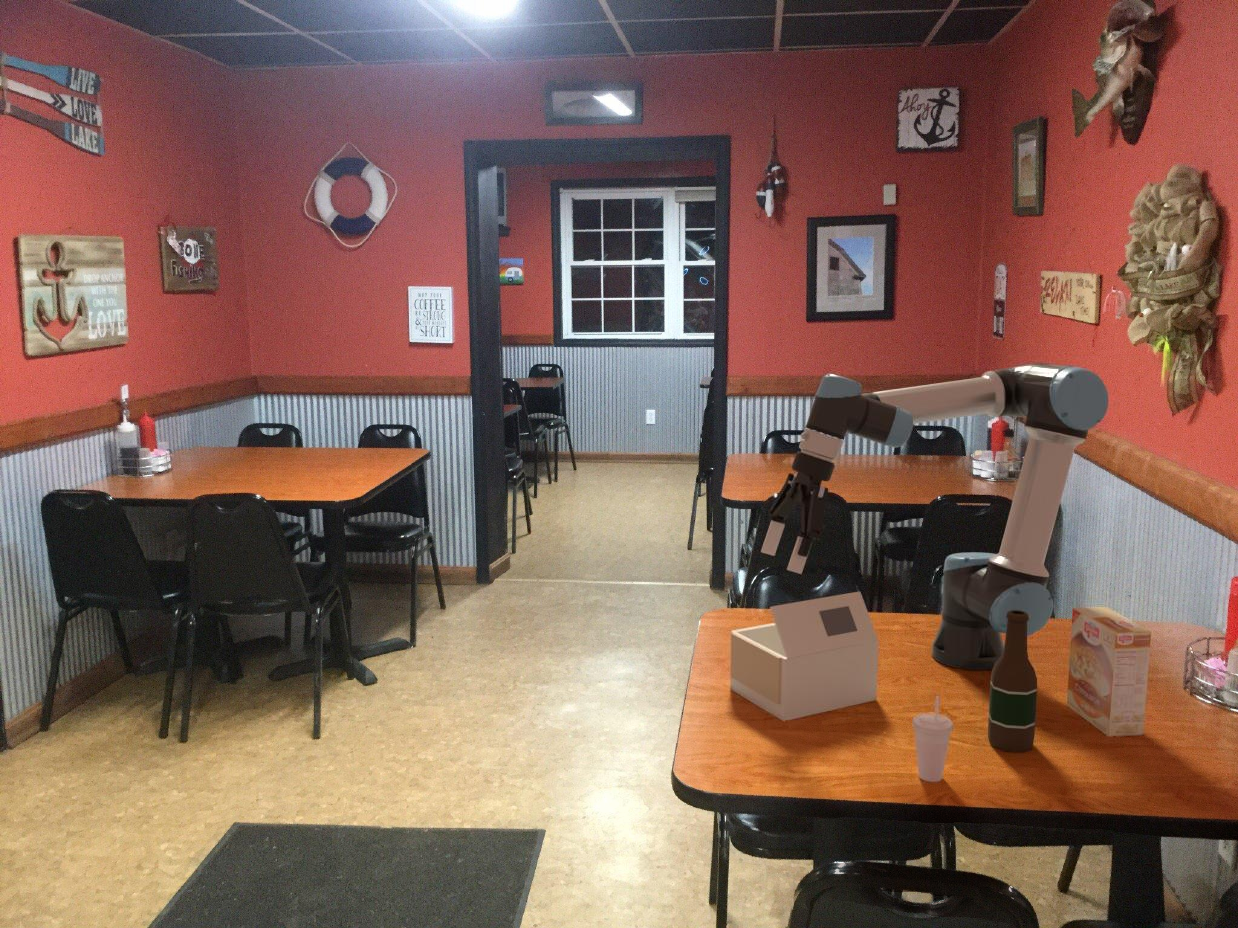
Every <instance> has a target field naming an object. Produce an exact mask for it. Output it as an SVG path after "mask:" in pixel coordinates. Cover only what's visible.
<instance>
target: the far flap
mask: <svg viewBox="0 0 1238 928" xmlns="http://www.w3.org/2000/svg"><path fill="white" fill-rule="evenodd" d="M769 610H770V613H771V615H772V616H771V617H772V619H773V621H774V622H773V623H775V625H776V628H777V631H778V634H779V637H780V640H781V643H782V646H783V649H784V652H785V655H786V657H787V659H789V658H794V657H799V656H804V655H809V654H814V653H819V652H824V651H829V650H834V649H839V648H844V647H849V646H854V645H859V644H865V643H870V642H875V641H879V638H878V635H877V634H876V630H875V627H874V625H873V622H872V620H871V616H870V614H869V611H868V609H867V607H866V604H865V601H864V598H863V594H862V593H861V591H855V592H849V593H844V594H837V595H836V594H835V595H831V596H826V597H819V598H812V599H808V600H802V601H795V602H789V603H784V604H777V605H773V606H770V607H769Z"/></svg>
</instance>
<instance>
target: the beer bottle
mask: <svg viewBox="0 0 1238 928" xmlns="http://www.w3.org/2000/svg"><path fill="white" fill-rule="evenodd" d="M1006 617H1007V619H1008V622H1007V630H1006V634H1005V640H1004V650H1003V654H1002V656H1001V657H1000V658H999V659H998V660H997V662H996V663H995V665H994V667H993V669H991V674H990V675H991V676H990V686H989V687H990V688H989V700H988V701H989V703H988V704H989V705H988V718H987V719H988V722H987V724H988V726H987V738H988V741H989V743H990V746H991V747H993V748H996V749H997V750H1001V751H1003V752H1007V753H1008V752H1009V753H1022V754H1023V753H1025V752H1027V751H1030V750H1032V749H1033V747H1034V743H1035V734H1036V733H1035V732H1036V731H1035V730H1036V716H1037V715H1036V714H1037V700H1038V676H1037V674H1036V670H1035V669H1034V666H1033V665H1032V663H1031V661H1030V660H1029V655H1028V654H1029V652H1028V636H1027V621H1028V620H1029V617H1028V614H1027V613H1026V612H1024V611H1020V610H1012V611H1009V612H1007V615H1006Z"/></svg>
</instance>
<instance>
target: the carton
mask: <svg viewBox="0 0 1238 928" xmlns="http://www.w3.org/2000/svg"><path fill="white" fill-rule="evenodd" d="M879 642H880V641H879V640H878V641H875V642H870V643H865V644H859V645H854V646H849V647H844V648H839V649H834V650H829V651H824V652H819V653H814V654H809V655H804V656H799V657H794V658H789V659H787V657H786V655H785V652H784V649H783V646H782V643H781V640H780V637H779V634H778V631H777V628H776V625H775V622H771V623H770V622H769V623H765V624H759V625H753V626H748V627H743V628H737V629H736V628H735V629H731V631H730V677H729V678H730V687H729V690H731V691H732V692H734V693H736V694H738V695H739V696H741V697H742V698H744V699H746V700H748V701H749V702H751V703H753V704H754V705H755V706H758V707H759V708H761V709H762V710H763V711H766V712H767V713H769V714H771V715H772V716H774V717H776V718H778V720H780V721H782V722H787V721H792V720H795V719H796V720H797V719H800V718H804V717H805V718H806V717H808V716H812V715H813V716H814V715H817V714H822V713H825V712H830V711H835V710H838V709H843V708H847V707H848V708H849V707H852V706H856V705H860V704H861V705H862V704H864V703H869V702H874V701H877V696H878V669H879V668H878V667H879V666H878V665H879V664H878V663H879ZM786 720H787V721H786Z"/></svg>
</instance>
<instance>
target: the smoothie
mask: <svg viewBox="0 0 1238 928" xmlns="http://www.w3.org/2000/svg"><path fill="white" fill-rule="evenodd" d="M934 701H935V703H934V704H935V705H934V713H921V714H917V715H915V716H914V717H913V718H912V724H911V725H912V728H913V729H914V736H915V737H914V738H915V747H916V749H915V750H916V758H917V759H916V761H917V773H918V777H919V779H921V780H923V781H925V782H929V783H937V782H940V781H942V780H943V777H944V776H943V775H944V771H945V765H946V759H947V755H948V748H949V743H950V737H951V732H953V730H954V723H953V721H952V719H950V718H949V717H947V716H944V715H941V714H939V707H940V695H939V694H936V695H935V700H934Z"/></svg>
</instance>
